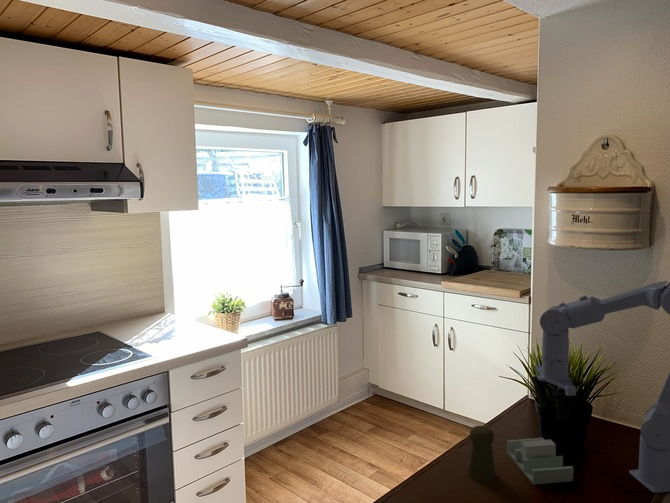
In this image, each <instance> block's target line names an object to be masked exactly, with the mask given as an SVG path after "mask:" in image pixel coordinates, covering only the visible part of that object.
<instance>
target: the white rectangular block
mask: <svg viewBox="0 0 670 503" xmlns="http://www.w3.org/2000/svg"><path fill="white" fill-rule="evenodd" d="M556 449H557V445H556V443H555V442H554V441H553V440H552V439H544V440H537V441H525V442H521V463H522V464H523V459H530V458H542V457H554V456H557V454H556V453H557V450H556Z"/></svg>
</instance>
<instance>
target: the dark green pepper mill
mask: <svg viewBox="0 0 670 503" xmlns="http://www.w3.org/2000/svg"><path fill="white" fill-rule="evenodd" d="M469 439H470V441H471V449H470V456H469V462H468V468H467V475H468V477H469V478H470V479H471V480H474V481H475V482H479V483H490V482H493V481H494V480H495V479H496V469H495V463H494V455H493V454H494V453H493V447H492V445H493V443H494V440H495V434H494V432H493V430H492V429H491V428H489V426H486V425H474V426H473V427H472V428H471V429H470V431H469Z"/></svg>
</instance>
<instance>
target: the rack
mask: <svg viewBox="0 0 670 503" xmlns="http://www.w3.org/2000/svg"><path fill="white" fill-rule="evenodd" d="M537 440H545V438H544V437H535V438H534V437H533V438H522V439H509V440H507V441H506V442H507V443H506V453H507V454H508V456H509V457H510V458H511V459H512V460H513V462H514V463H515V464H516V465H517V466H518V468H519V469H520V470H521V472H522V473H523V474H524V475H525V476H526V478H527V479H528V480H529V482H530V483H531V484H532V485H545V484H554V483H556V484H557V483H567V482H574V466H572V465H569V466H564V457H563V455H556V456H554V457H542V458H530V459H523V464H522V463H521V442H525V441H537Z"/></svg>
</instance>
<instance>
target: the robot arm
mask: <svg viewBox="0 0 670 503" xmlns="http://www.w3.org/2000/svg"><path fill="white" fill-rule="evenodd" d="M641 306H645V307H648V308H651V309H654V310H658V311H659V309H660V308H662V309H663V310H664V311H665V312H666V313H667V314H668V315H669V316H670V281H669V282H668V280H664V281H657V282H654V283H650V284H647V285H643V286H641V287H637V288H635V289H631V290H627V291H625V292H622V293H618V294H616V295H612V296H609V297H606V298H603V299H600V298H597V297H595V296H588V297H587V295H582V296H580V297H579V298H578V300H575V301H572V302H571V301H570V302H568V303H565V302H561V303H559V304H558V305H554V306H551V307H550V308H548V309H547V310H546V311H544V312H543V313H542V314H541V316H540V319H539V324H540V327H541V330H542V339H541V340H542V341H541V342H542V343H541V344H542V345H541V346H542V347H541V349H542V350H541V364H539V365H538V364H537V365H535V372H536V371H537V373H538V374H539V375H538V374H537V373H536V374H537V376H536V375H535V376H532V378H531V379H532V381H533V383H534V384H535V387H536V390H537V393H538V397H539V402H540V405H541V404H543V403H544V401H545V400H546V395H545V394H546V384H550V385H553V386H554V385H555V386H554V387H558V388H559V390H553V391H551V393H552V398H553V399H554V403H555V409H556V418H557V421H559V422H563V421H568V420H569V416H570V413H571V410H572V408H573V406H574V404H575V402H576V401H577V399H578V398H579V397H580V393H579V392H577V387H576V385H574V384H573V382H572V380H571V378H570V376H569V361H570V360H569V357H570V356H569V353H570V339H569V335H570V334H569V333H570V332H569V330H570V329H577V328H581V327H584V326H588V325H591V324H596V323H600V322H603V321H604V318H605V316H606V314H611V313H616V312H620V311H625V310H629V309H632V308H637V307H641ZM541 365H542V366H541ZM658 395H659V396H658V397H657V400H656V403H654V405H652V406H650V407H649V408H648V409H647V410H646V413H645V418H644V421H643V423H642V424H641V426H640V435H639V448H638V449H639V453H638V469H632V470H631V469H630V470H629V471H628V473H629V474H630V475H631V476H632V477H634V479H636V481H638V482H639V483H640V484H641V485H643V486H644V487H645V488H647V489H648V490H649V491H650V493H654V494H656V493H669V492H670V371H669V372H668V374H667V377H666V380H665V382H664V385H663V386H662V389H661V391H660V394H658Z"/></svg>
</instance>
